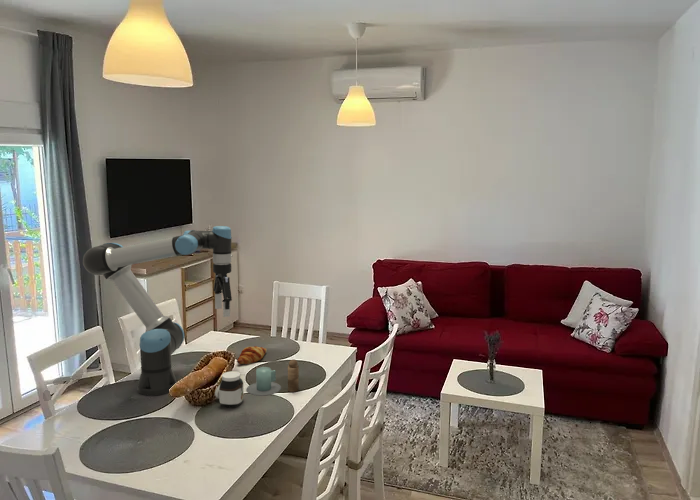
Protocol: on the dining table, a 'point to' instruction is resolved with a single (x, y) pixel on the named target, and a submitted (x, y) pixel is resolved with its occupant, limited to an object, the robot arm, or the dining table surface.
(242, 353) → the croissant
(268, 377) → the mug
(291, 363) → the salt mill
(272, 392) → the grey flat disc
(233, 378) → the spread jar
